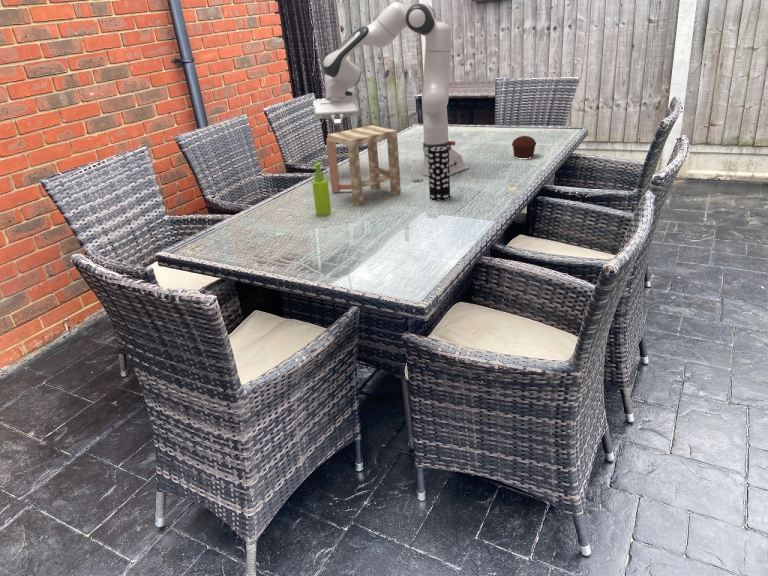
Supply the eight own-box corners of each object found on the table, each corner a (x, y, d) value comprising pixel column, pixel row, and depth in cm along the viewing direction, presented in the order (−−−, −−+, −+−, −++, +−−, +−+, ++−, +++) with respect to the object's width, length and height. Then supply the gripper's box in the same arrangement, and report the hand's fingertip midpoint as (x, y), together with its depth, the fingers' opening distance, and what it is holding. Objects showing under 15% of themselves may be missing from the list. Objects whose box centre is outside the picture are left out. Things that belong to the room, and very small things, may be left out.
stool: (376, 185, 260) (371, 125, 249) (400, 193, 247) (396, 130, 235) (334, 197, 250) (327, 134, 238) (357, 206, 236) (351, 140, 224)
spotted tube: (449, 201, 234) (447, 151, 225) (428, 201, 236) (426, 151, 227) (451, 194, 241) (450, 146, 232) (431, 194, 243) (429, 146, 234)
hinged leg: (361, 189, 255) (357, 136, 245) (360, 191, 252) (355, 138, 242) (333, 190, 257) (327, 137, 247) (332, 192, 255) (325, 139, 244)
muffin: (532, 153, 291) (533, 133, 287) (538, 159, 281) (539, 138, 277) (508, 155, 291) (509, 135, 287) (514, 161, 281) (514, 140, 277)
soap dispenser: (334, 210, 234) (328, 160, 225) (327, 216, 228) (321, 165, 219) (321, 209, 236) (315, 160, 227) (313, 215, 230) (307, 165, 221)
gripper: (312, 95, 261) (313, 121, 256) (357, 92, 262) (360, 118, 257) (313, 104, 267) (315, 130, 262) (358, 101, 268) (360, 127, 263)
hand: (337, 124), depth 260 cm, fingers closed
